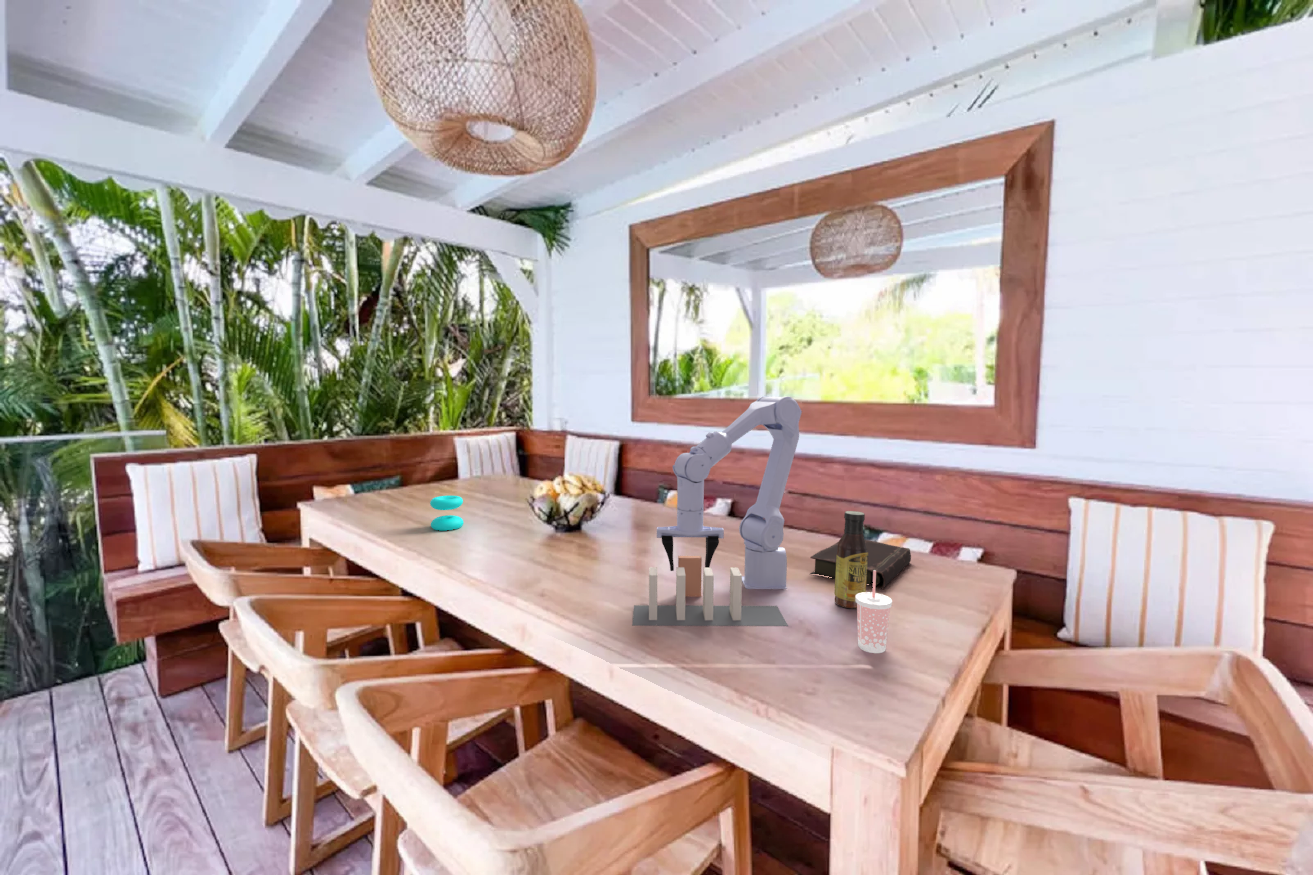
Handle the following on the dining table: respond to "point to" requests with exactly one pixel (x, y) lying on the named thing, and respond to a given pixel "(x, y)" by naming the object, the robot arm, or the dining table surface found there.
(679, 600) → the domino
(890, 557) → the diary
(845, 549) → the sauce bottle
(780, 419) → the robot arm
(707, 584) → the domino
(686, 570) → the terracotta domino
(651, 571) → the domino
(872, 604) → the beverage cup
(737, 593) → the domino
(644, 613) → the slate mat
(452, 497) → the donuts
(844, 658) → the dining table surface
